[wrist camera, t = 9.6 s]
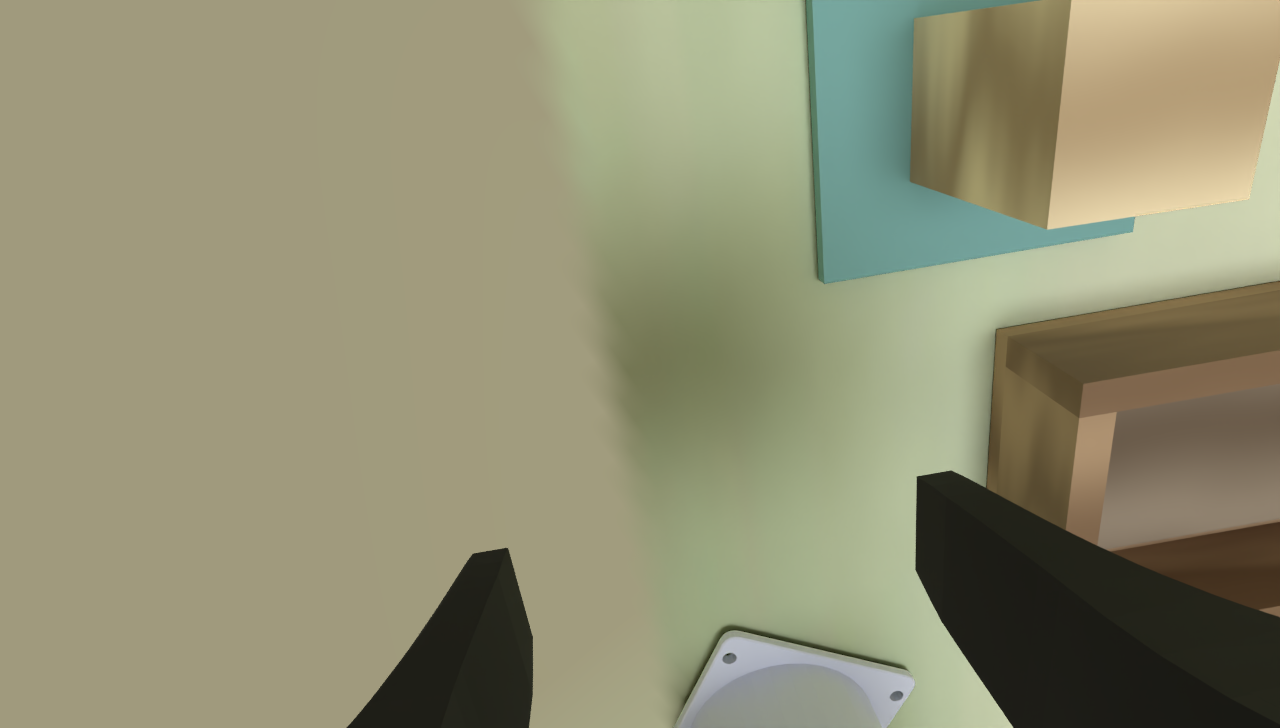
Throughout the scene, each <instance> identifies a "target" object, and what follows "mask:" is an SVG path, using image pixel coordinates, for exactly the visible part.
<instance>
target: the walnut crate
mask: <svg viewBox="0 0 1280 728" xmlns="http://www.w3.org/2000/svg"><path fill="white" fill-rule="evenodd" d="M987 489H989V490H990V491H992V492H994V493H996V494H998V495H1000V496H1002V497H1003V498H1005V499H1007V500H1009V501H1011V502H1013V503H1015V504H1017V505H1018V506H1020V507H1022V508H1024V509H1026V510H1028V511H1030V512H1032V513H1033V514H1035V515H1037V516H1039V517H1041V518H1043V519H1045V520H1047V521H1049V522H1051V523H1053V524H1055V525H1057V526H1058V527H1060V528H1062V529H1064V530H1066V531H1068V532H1070V533H1072V534H1074V535H1076V536H1078V537H1081V538H1083V539H1085V540H1087V541H1089V542H1091V543H1093V544H1095V545H1097V546H1099V547H1101V548H1104V549H1106V550H1108V551H1110V552H1112V553H1114V554H1117V555H1119V556H1121V557H1123V558H1125V559H1128V560H1130V561H1132V562H1134V563H1136V564H1139V565H1141V566H1143V567H1146V568H1148V569H1150V570H1153V571H1155V572H1157V573H1160V574H1162V575H1165V576H1167V577H1170V578H1172V579H1175V580H1178V581H1180V582H1183V583H1185V584H1188V585H1190V586H1193V587H1195V588H1198V589H1201V590H1203V591H1206V592H1208V593H1211V594H1214V595H1216V596H1219V597H1222V598H1225V599H1227V600H1230V601H1233V602H1236V603H1239V604H1242V605H1244V606H1247V607H1250V608H1254V609H1257V610H1260V611H1263V612H1266V613H1269V614H1272V615H1275V616H1278V617H1280V281H1278V282H1272V283H1266V284H1260V285H1254V286H1249V287H1243V288H1237V289H1231V290H1225V291H1219V292H1213V293H1207V294H1202V295H1196V296H1190V297H1184V298H1178V299H1172V300H1166V301H1160V302H1155V303H1149V304H1143V305H1137V306H1131V307H1125V308H1119V309H1114V310H1108V311H1102V312H1096V313H1090V314H1084V315H1078V316H1072V317H1067V318H1061V319H1055V320H1049V321H1043V322H1037V323H1031V324H1025V325H1020V326H1014V327H1008V328H1002V329H997V331H996V347H995V363H994V379H993V395H992V410H991V426H990V442H989V458H988V474H987Z"/></svg>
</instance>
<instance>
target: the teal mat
mask: <svg viewBox="0 0 1280 728" xmlns="http://www.w3.org/2000/svg"><path fill="white" fill-rule="evenodd" d="M1032 1H1039V0H806V12H807V34H808V56H809V78H810V100H811V122H812V143H813V165H814V187H815V209H816V231H817V253H818V274H819V280H820V281H822V282H823V283H824V284H827V283H833V282H839V281H845V280H851V279H856V278H862V277H868V276H874V275H880V274H886V273H892V272H898V271H904V270H910V269H916V268H922V267H928V266H934V265H940V264H946V263H951V262H957V261H963V260H969V259H975V258H981V257H987V256H993V255H999V254H1005V253H1011V252H1017V251H1023V250H1029V249H1035V248H1041V247H1046V246H1052V245H1058V244H1064V243H1070V242H1076V241H1082V240H1088V239H1094V238H1100V237H1106V236H1112V235H1118V234H1124V233H1130V232H1133V226H1134V219H1135V217H1128V218H1121V219H1115V220H1108V221H1101V222H1095V223H1088V224H1081V225H1075V226H1068V227H1062V228H1055V229H1048V230H1047V229H1044V228H1041V227H1038V226H1035V225H1032V224H1029V223H1027V222H1024V221H1021V220H1018V219H1015V218H1012V217H1009V216H1006V215H1004V214H1001V213H998V212H995V211H992V210H989V209H986V208H983V207H981V206H978V205H975V204H972V203H969V202H966V201H963V200H961V199H958V198H955V197H952V196H949V195H946V194H943V193H940V192H938V191H935V190H932V189H929V188H926V187H923V186H920V185H917V184H915V183H912V182H910V161H911V121H912V82H913V43H914V18H920V17H927V16H934V15H941V14H948V13H955V12H962V11H969V10H976V9H983V8H990V7H997V6H1004V5H1011V4H1018V3H1025V2H1032Z"/></svg>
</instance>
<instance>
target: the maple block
mask: <svg viewBox="0 0 1280 728" xmlns="http://www.w3.org/2000/svg"><path fill="white" fill-rule="evenodd" d="M1279 61H1280V0H1039V1H1032V2H1025V3H1018V4H1011V5H1004V6H997V7H990V8H983V9H976V10H969V11H962V12H955V13H948V14H941V15H934V16H927V17H920V18H914V43H913V82H912V121H911V161H910V182H912V183H915V184H917V185H920V186H923V187H926V188H929V189H932V190H935V191H938V192H940V193H943V194H946V195H949V196H952V197H955V198H958V199H961V200H963V201H966V202H969V203H972V204H975V205H978V206H981V207H983V208H986V209H989V210H992V211H995V212H998V213H1001V214H1004V215H1006V216H1009V217H1012V218H1015V219H1018V220H1021V221H1024V222H1027V223H1029V224H1032V225H1035V226H1038V227H1041V228H1044V229H1047V230H1048V229H1055V228H1062V227H1068V226H1075V225H1081V224H1088V223H1095V222H1101V221H1108V220H1115V219H1121V218H1128V217H1135V216H1141V215H1148V214H1154V213H1161V212H1168V211H1174V210H1181V209H1188V208H1194V207H1201V206H1208V205H1214V204H1221V203H1227V202H1234V201H1241V200H1247V199H1249V197H1250V192H1251V188H1252V183H1253V179H1254V174H1255V170H1256V165H1257V161H1258V156H1259V152H1260V147H1261V142H1262V138H1263V133H1264V129H1265V124H1266V120H1267V115H1268V111H1269V106H1270V101H1271V97H1272V92H1273V88H1274V83H1275V79H1276V74H1277V70H1278V65H1279Z"/></svg>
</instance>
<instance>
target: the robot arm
mask: <svg viewBox="0 0 1280 728" xmlns="http://www.w3.org/2000/svg"><path fill="white" fill-rule="evenodd" d="M916 572H917V574H918V576H919V578H920V580H921V582H922V584H923V586H924V588H925V590H926V592H927V594H928V596H929V598H930V600H931V602H932V604H933V606H934V608H935V610H936V611H937V613H938V615H939V617H940V619H941V621H942V623H943V624H944V626H945V627H946V629H947V630H948V632H949V633H950V635H951V636H952V638H953V639H954V641H955V642H956V644H957V645H958V647H959V648H960V650H961V651H962V653H963V654H964V656H965V657H966V659H967V660H968V662H969V663H970V665H971V666H972V668H973V669H974V670H975V672H976V673H977V675H978V676H979V678H980V679H981V681H982V682H983V684H984V685H985V687H986V688H987V689H988V691H989V692H990V694H991V695H992V697H993V698H994V700H995V701H996V703H997V704H998V706H999V707H1000V709H1001V710H1002V711H1003V713H1004V714H1005V716H1006V717H1007V719H1008V720H1009V722H1010V723H1011V725H1012V726H1013V728H1280V617H1278V616H1275V615H1272V614H1269V613H1266V612H1263V611H1260V610H1257V609H1254V608H1250V607H1247V606H1244V605H1242V604H1239V603H1236V602H1233V601H1230V600H1227V599H1225V598H1222V597H1219V596H1216V595H1214V594H1211V593H1208V592H1206V591H1203V590H1201V589H1198V588H1195V587H1193V586H1190V585H1188V584H1185V583H1183V582H1180V581H1178V580H1175V579H1172V578H1170V577H1167V576H1165V575H1162V574H1160V573H1157V572H1155V571H1153V570H1150V569H1148V568H1146V567H1143V566H1141V565H1139V564H1136V563H1134V562H1132V561H1130V560H1128V559H1125V558H1123V557H1121V556H1119V555H1117V554H1114V553H1112V552H1110V551H1108V550H1106V549H1104V548H1101V547H1099V546H1097V545H1095V544H1093V543H1091V542H1089V541H1087V540H1085V539H1083V538H1081V537H1078V536H1076V535H1074V534H1072V533H1070V532H1068V531H1066V530H1064V529H1062V528H1060V527H1058V526H1057V525H1055V524H1053V523H1051V522H1049V521H1047V520H1045V519H1043V518H1041V517H1039V516H1037V515H1035V514H1033V513H1032V512H1030V511H1028V510H1026V509H1024V508H1022V507H1020V506H1018V505H1017V504H1015V503H1013V502H1011V501H1009V500H1007V499H1005V498H1003V497H1002V496H1000V495H998V494H996V493H994V492H992V491H990V490H989V489H987V488H985V487H983V486H981V485H979V484H977V483H975V482H973V481H972V480H970V479H968V478H966V477H964V476H962V475H960V474H957V473H955V472H953V471H946V472H940V473H935V474H929V475H923V476H917V504H916ZM728 653H732V654H731V655H725V654H728ZM914 686H915V680H914V678H913V676H912V675H911V673H910V672H909V671H907V670H904V669H900V668H896V667H891V666H887V665H883V664H879V663H874V662H870V661H866V660H862V659H857V658H853V657H849V656H844V655H840V654H836V653H832V652H827V651H823V650H819V649H815V648H810V647H806V646H802V645H798V644H793V643H789V642H785V641H781V640H776V639H772V638H768V637H764V636H759V635H755V634H751V633H747V632H742V631H737V630H732V631H728V632H726V633H725V634H723V636H722V637H721V638H720V640H719V642H718V644H717V646H716V647H715V649H714V651H713V653H712V655H711V657H710V659H709V661H708V663H707V664H706V666H705V668H704V670H703V672H702V674H701V676H700V678H699V680H698V682H697V683H696V685H695V687H694V689H693V691H692V693H691V695H690V697H689V699H688V700H687V702H686V704H685V706H684V708H683V710H682V712H681V714H680V716H679V718H678V719H677V721H676V723H675V725H674V727H673V728H887V727H888V725H889V724H890V722H891V721H892V719H893V718H894V716H895V715H896V713H897V712H898V711H899V709H900V708H901V706H902V705H903V703H904V702H905V700H906V699H907V697H908V696H909V694H910V693H911V691H912V690H913V688H914ZM532 690H533V636H532V633H531V629H530V626H529V622H528V618H527V615H526V611H525V608H524V604H523V601H522V597H521V594H520V590H519V586H518V583H517V579H516V576H515V572H514V568H513V565H512V561H511V557H510V554H509V550H508V548H504V549H498V550H492V551H486V552H480V553H474V554H472V556H471V557H470V558H469V560H468V561H467V563H466V564H465V566H464V567H463V569H462V570H461V572H460V573H459V575H458V577H457V578H456V580H455V581H454V583H453V584H452V586H451V588H450V589H449V591H448V592H447V594H446V596H445V597H444V598H443V600H442V601H441V603H440V605H439V606H438V608H437V609H436V611H435V612H434V614H433V615H432V617H431V618H430V620H429V621H428V623H427V624H426V625H425V627H424V629H423V630H422V631H421V633H420V634H419V636H418V637H417V638H416V640H415V642H414V643H413V644H412V646H411V647H410V649H409V650H408V651H407V653H406V654H405V655H404V657H403V658H402V660H401V661H400V662H399V664H398V665H397V666H396V667H395V669H394V670H393V671H392V673H391V674H390V675H389V676H388V678H387V679H386V680H385V682H384V683H383V684H382V686H381V687H380V688H379V690H378V691H377V692H376V694H375V695H374V696H373V697H372V699H371V700H370V701H369V702H368V703H367V705H366V706H365V707H364V708H363V710H362V711H361V712H360V713H359V714H358V715H357V717H356V718H355V719H354V720H353V721H352V722H351V724H350V725H349V726H348V727H347V728H529V721H530V711H531V704H532V695H533V691H532Z"/></svg>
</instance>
